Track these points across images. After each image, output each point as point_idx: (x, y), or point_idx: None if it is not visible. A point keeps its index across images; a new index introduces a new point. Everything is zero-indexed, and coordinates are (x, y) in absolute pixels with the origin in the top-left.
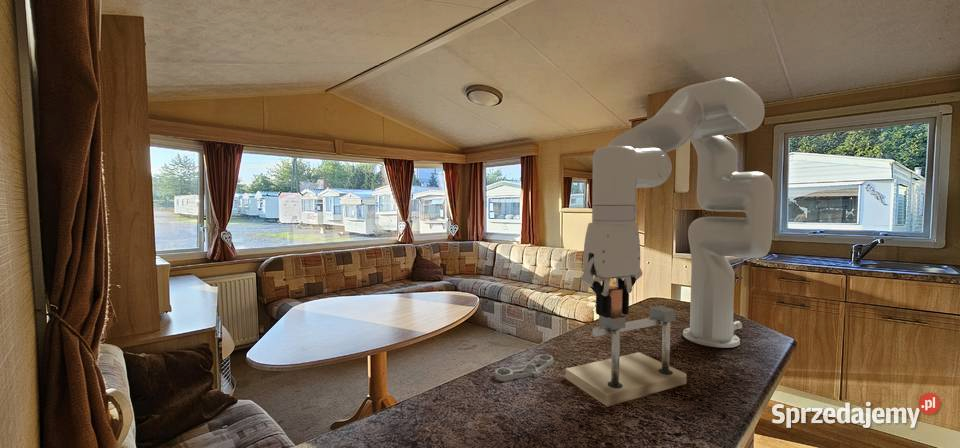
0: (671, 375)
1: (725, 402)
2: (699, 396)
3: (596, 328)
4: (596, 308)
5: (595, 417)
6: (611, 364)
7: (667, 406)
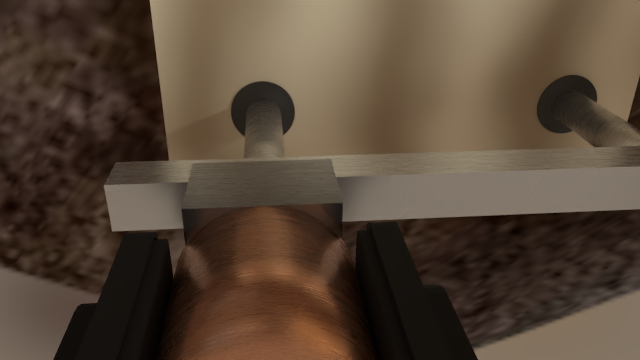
0: (553, 139)
1: (565, 267)
2: (537, 215)
3: (129, 203)
4: (79, 314)
5: (90, 185)
6: (246, 141)
7: (380, 221)
